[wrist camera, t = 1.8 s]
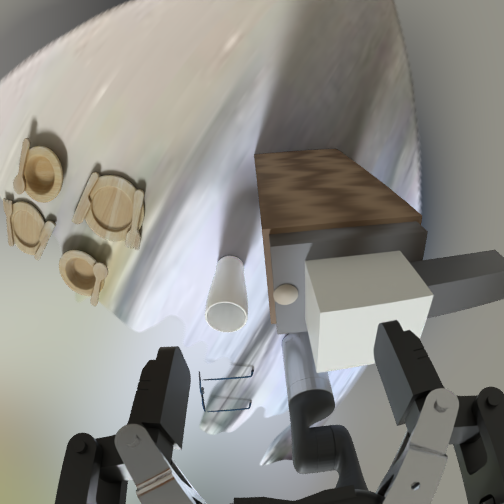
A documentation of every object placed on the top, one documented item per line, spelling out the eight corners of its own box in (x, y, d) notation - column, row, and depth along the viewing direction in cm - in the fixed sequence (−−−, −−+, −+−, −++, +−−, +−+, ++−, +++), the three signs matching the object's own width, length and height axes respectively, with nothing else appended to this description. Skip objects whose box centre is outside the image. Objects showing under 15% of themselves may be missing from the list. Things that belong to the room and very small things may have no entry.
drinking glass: (234, 244, 58) (231, 293, 44) (254, 270, 60) (256, 322, 47) (206, 261, 59) (195, 312, 46) (226, 285, 62) (221, 338, 49)
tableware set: (164, 198, 53) (159, 206, 50) (116, 303, 65) (110, 315, 62) (24, 122, 43) (12, 126, 40) (2, 235, 56) (-7, 243, 52)
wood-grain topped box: (336, 148, 49) (434, 226, 22) (337, 202, 54) (413, 318, 26) (254, 154, 49) (263, 242, 22) (259, 209, 54) (272, 339, 27)
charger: (498, 238, 22) (534, 271, 17) (483, 288, 25) (512, 324, 20) (304, 260, 23) (320, 312, 18) (305, 319, 26) (316, 372, 21)
